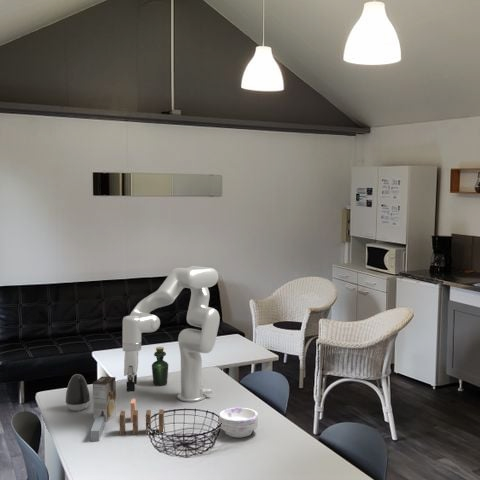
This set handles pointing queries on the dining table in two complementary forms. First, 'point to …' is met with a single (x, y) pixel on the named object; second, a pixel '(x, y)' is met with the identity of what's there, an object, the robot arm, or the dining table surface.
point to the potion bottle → (160, 368)
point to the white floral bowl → (238, 421)
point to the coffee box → (104, 398)
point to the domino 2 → (133, 408)
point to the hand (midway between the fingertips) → (131, 387)
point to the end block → (97, 428)
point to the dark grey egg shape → (77, 393)
